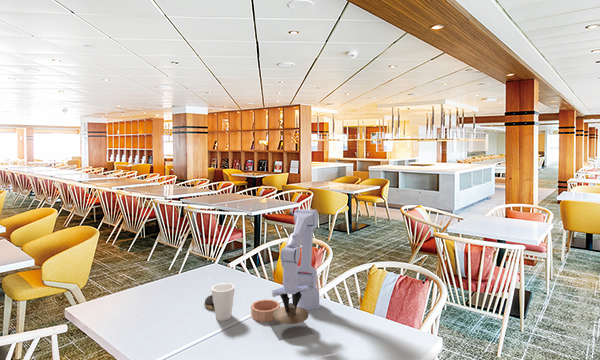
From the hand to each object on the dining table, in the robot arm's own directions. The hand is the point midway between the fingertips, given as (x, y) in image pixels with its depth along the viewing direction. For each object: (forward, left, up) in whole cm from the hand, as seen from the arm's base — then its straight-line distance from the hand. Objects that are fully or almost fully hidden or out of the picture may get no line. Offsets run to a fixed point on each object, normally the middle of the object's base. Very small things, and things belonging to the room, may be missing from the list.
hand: (290, 311), depth 147 cm
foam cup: (+23, -20, -8) cm, 31 cm away
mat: (0, 0, -7) cm, 7 cm away
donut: (+24, -33, -8) cm, 42 cm away
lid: (0, 0, -2) cm, 2 cm away
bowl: (+6, -15, -7) cm, 18 cm away
